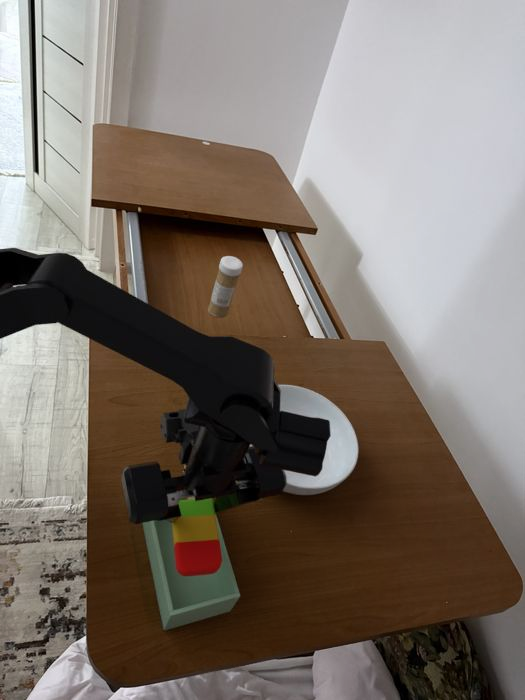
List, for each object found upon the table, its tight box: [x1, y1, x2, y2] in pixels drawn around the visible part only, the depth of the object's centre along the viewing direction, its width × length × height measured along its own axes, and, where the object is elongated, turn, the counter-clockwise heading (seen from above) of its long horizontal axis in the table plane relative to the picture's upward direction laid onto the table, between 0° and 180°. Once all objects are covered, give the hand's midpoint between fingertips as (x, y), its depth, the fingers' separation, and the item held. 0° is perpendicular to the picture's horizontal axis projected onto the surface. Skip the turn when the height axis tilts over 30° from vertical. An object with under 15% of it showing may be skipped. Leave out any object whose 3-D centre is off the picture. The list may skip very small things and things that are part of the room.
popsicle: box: [172, 464, 222, 576], centre depth 65 cm, size 6×15×2 cm, turn 12°
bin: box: [141, 491, 241, 632], centre depth 69 cm, size 18×9×6 cm, turn 20°
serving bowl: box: [249, 384, 359, 496], centre depth 86 cm, size 21×21×7 cm
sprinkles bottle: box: [207, 255, 244, 319], centre depth 105 cm, size 5×5×13 cm
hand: (193, 514), depth 65 cm, fingers closed on popsicle, 6 cm apart
